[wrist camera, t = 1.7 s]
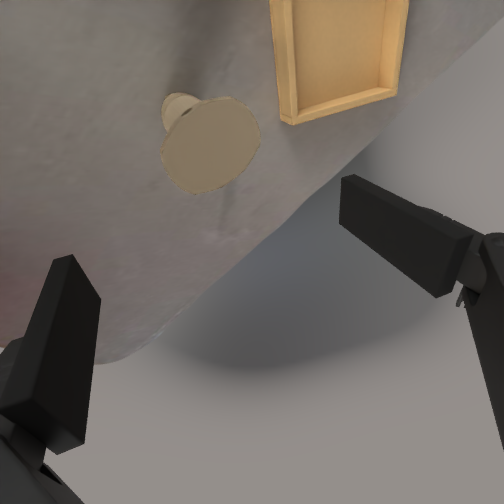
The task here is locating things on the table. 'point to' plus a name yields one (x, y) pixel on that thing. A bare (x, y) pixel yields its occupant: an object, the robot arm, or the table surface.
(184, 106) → the handle
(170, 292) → the table surface
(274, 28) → the tray
